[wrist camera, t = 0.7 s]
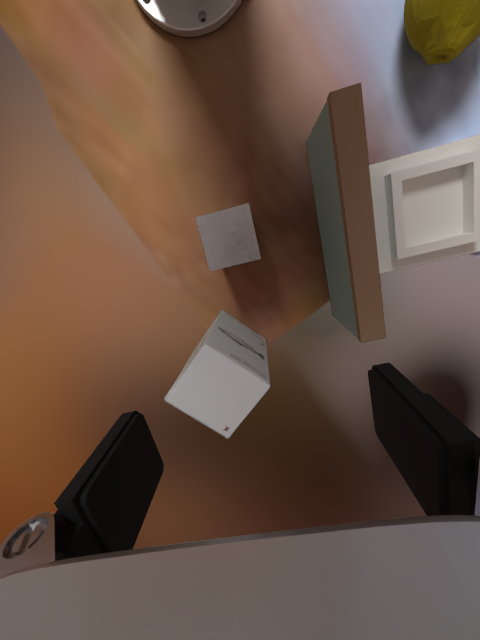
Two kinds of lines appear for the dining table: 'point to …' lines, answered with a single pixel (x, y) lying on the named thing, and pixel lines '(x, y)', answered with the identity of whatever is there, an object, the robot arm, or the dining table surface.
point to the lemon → (441, 27)
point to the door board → (347, 213)
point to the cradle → (427, 205)
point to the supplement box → (223, 376)
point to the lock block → (228, 237)
